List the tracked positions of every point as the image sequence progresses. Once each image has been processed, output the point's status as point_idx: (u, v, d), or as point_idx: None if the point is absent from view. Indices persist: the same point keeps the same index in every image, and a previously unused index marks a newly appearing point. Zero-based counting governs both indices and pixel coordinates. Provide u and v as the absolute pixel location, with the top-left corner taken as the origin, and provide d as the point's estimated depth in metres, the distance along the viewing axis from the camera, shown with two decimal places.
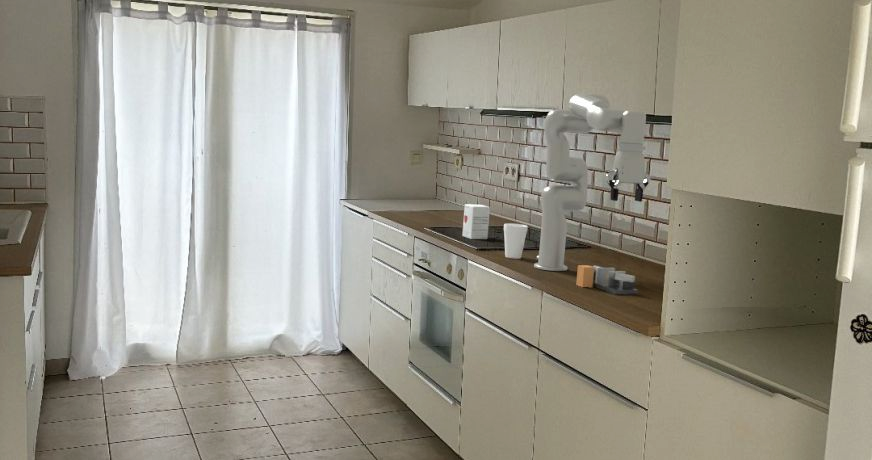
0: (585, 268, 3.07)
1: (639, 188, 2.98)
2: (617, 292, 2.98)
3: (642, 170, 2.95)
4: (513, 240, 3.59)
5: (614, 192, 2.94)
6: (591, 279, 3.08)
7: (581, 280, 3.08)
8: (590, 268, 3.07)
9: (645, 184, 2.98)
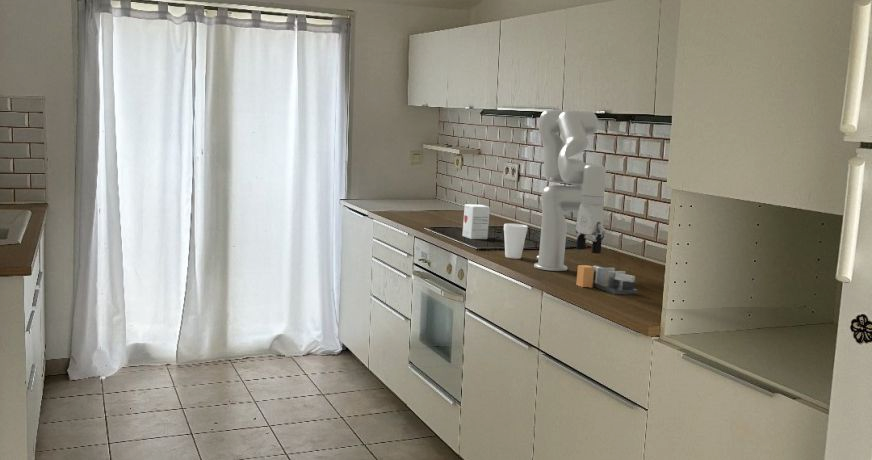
0: (585, 268, 3.07)
1: (582, 237, 3.11)
2: (617, 292, 2.98)
3: None
4: (513, 240, 3.59)
5: None
6: (591, 279, 3.08)
7: (581, 280, 3.08)
8: (590, 268, 3.07)
9: None
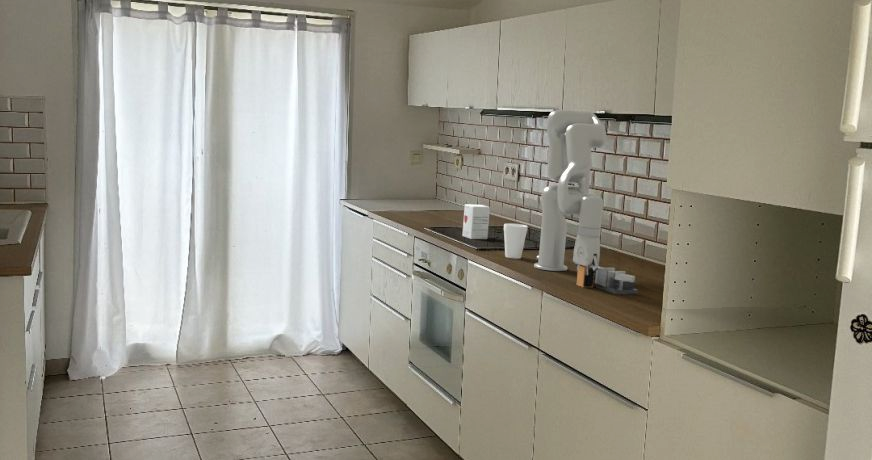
0: (585, 268, 3.07)
1: None
2: (617, 292, 2.98)
3: None
4: (513, 240, 3.59)
5: None
6: None
7: (581, 280, 3.08)
8: (590, 268, 3.07)
9: None
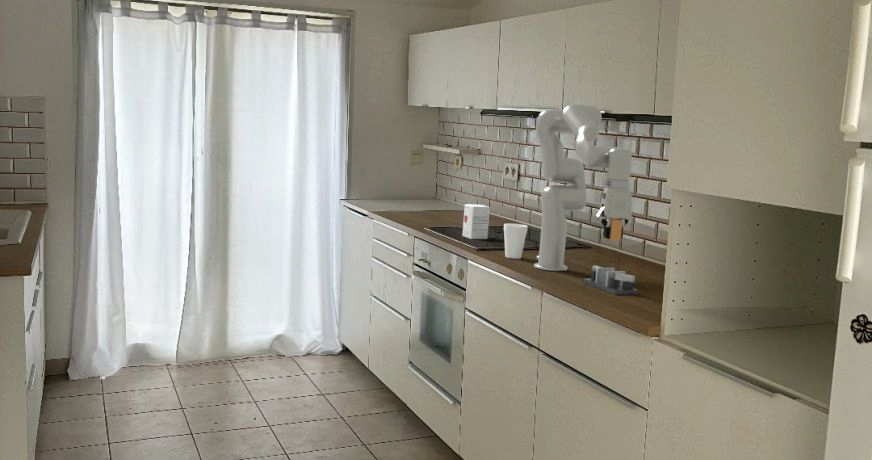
0: None
1: None
2: (617, 292, 2.98)
3: None
4: (513, 240, 3.59)
5: None
6: None
7: (618, 234, 3.05)
8: None
9: None
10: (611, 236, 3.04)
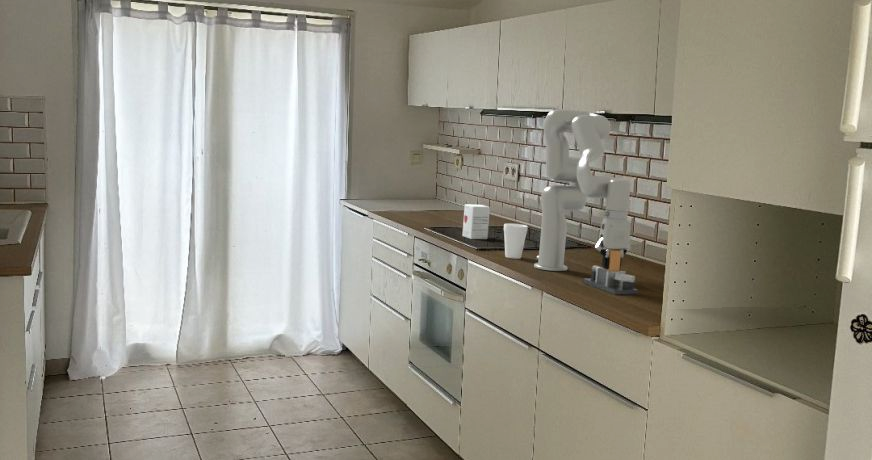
0: None
1: None
2: (617, 292, 2.98)
3: None
4: (513, 240, 3.59)
5: None
6: None
7: (616, 264, 3.06)
8: None
9: None
10: (610, 266, 3.06)
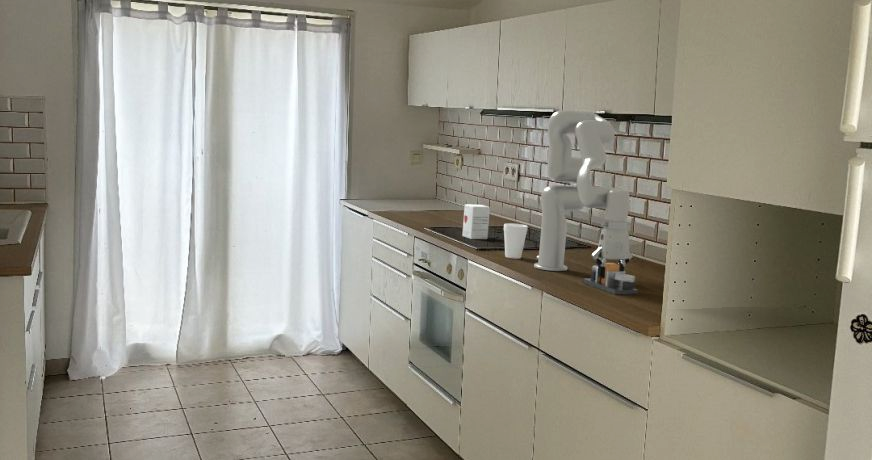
0: None
1: None
2: (617, 292, 2.98)
3: None
4: (513, 240, 3.59)
5: None
6: None
7: None
8: None
9: None
10: None
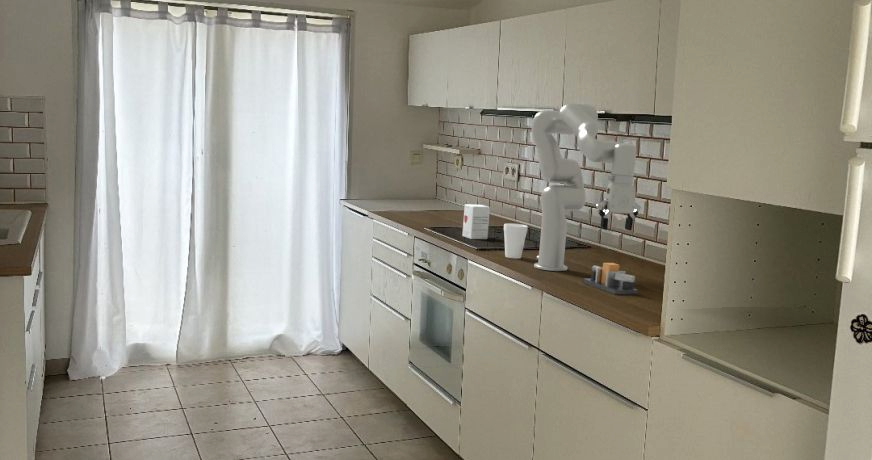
0: None
1: None
2: (617, 292, 2.98)
3: None
4: (513, 240, 3.59)
5: None
6: None
7: None
8: None
9: None
10: None
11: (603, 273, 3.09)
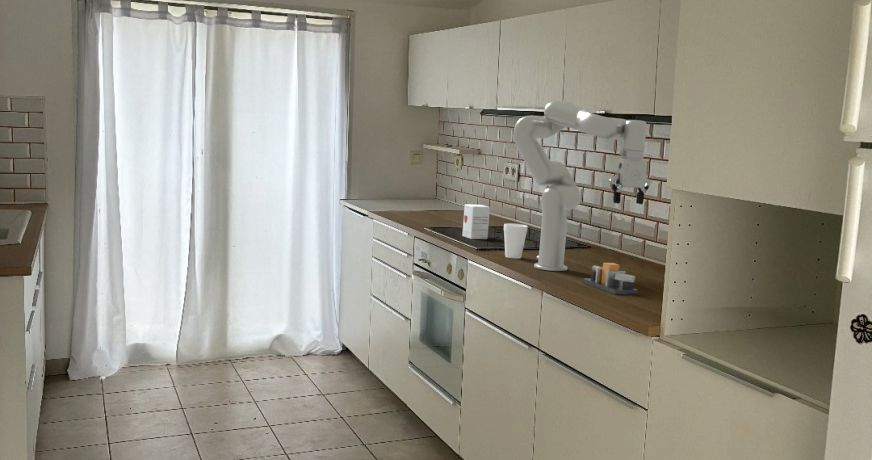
0: None
1: None
2: (617, 292, 2.98)
3: None
4: (513, 240, 3.59)
5: None
6: None
7: None
8: None
9: None
10: None
11: (603, 273, 3.09)
